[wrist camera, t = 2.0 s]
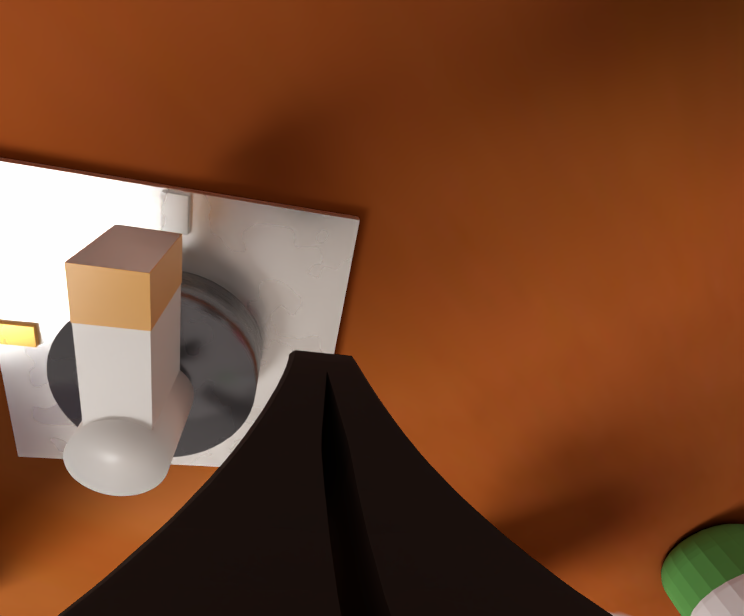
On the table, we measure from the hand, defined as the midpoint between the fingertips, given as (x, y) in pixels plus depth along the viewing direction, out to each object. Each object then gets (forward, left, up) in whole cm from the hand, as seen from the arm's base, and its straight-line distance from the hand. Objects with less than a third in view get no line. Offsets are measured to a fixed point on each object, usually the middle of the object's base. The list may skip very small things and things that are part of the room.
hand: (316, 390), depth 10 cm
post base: (-5, +5, -9) cm, 11 cm away
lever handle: (-3, +5, -5) cm, 8 cm away
